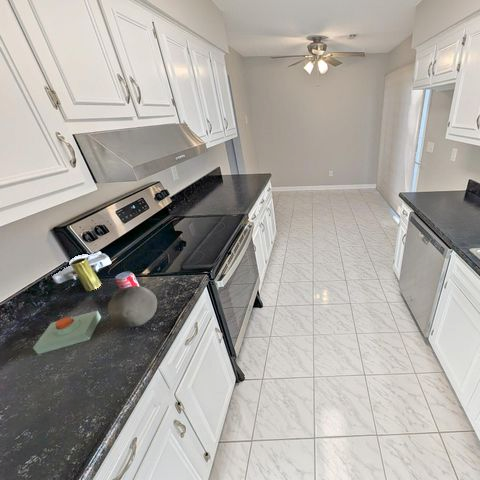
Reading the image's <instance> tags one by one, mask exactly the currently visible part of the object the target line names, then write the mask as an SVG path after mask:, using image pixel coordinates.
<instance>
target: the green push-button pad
mask: <svg viewBox="0 0 480 480" xmlns="http://www.w3.org/2000/svg"><path fill="white" fill-rule="evenodd" d="M69 317H70V318H71V319H72V321H73V322H72V324H70V325H69V326H67V327H65V328H62V329H58V328H57V327H56V325H55V323H56V322H57V321H58V320H56V321H52V322H50V324H49V325H48V327H47V328H46V330H45V331H44V332H43V333H42V334H41V336H40V337H39V339H38V340H37V341H36V343H35V344H34V345H33V347H32V349H33V350H34V351H35V352H36V354H37V355H40V354H44V353H49V352H51V351H55V350H58V349H62V348H65V347H68V346H72V345H76V344H79V343H83V342H86V341H89V340H90V339H91V337H92V336H93V333H94V331H95V330H96V328H97V326H98V324H99V322H100V320H101V318H102V316H101V314H100V313H99V311H98V310H94V311H90V312H87V313H83V314H79V315H76V316H69Z"/></svg>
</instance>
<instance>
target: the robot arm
mask: <svg viewBox="0 0 480 480" xmlns="http://www.w3.org/2000/svg"><path fill="white" fill-rule="evenodd" d="M93 252H94V253H93V254H90V255H88V254H82V255H78V256H75V257H74V258H72V259H71V260H70V261H69V265H70V266H68V267H67V266H65V267H66V268H65V267H63V268H64V269H63V270H62V271H59V272H58V273H56V274H54V275H53V276H52V275H51V278H52V279H53V281H54V282H55V284H62V283H65V282H67V281H69V280H74V281H76V280H80V279H79V277H78V275H77V274H76V272H75V271H74V269H73V267H72V266H71V262H72V261H74V260H77V259H80V258H86V260H87V261H88V263H89V265H90V266H91V268H92V269H93V271H94V273H95V274H96V273H97V272H99V269H102V268H105V267H107V266H111V264H112V260H111V259H110V257H109V255H107V254H106V253H102V252H101V251H100V250H97V251H93Z"/></svg>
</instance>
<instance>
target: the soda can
mask: <svg viewBox="0 0 480 480" xmlns="http://www.w3.org/2000/svg"><path fill="white" fill-rule="evenodd" d="M114 279H115V283H116V285H117V287H118V289H119V291H120V290H122V289H124V288H126V287H131V286H140V284H139V282H138V280H137V278H136V276H135V274H134V273H133V272H131V271H122V272H121V273H119V274H117V275H116V276H115V278H114Z"/></svg>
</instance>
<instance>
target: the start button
mask: <svg viewBox="0 0 480 480" xmlns="http://www.w3.org/2000/svg"><path fill="white" fill-rule="evenodd" d="M70 317H71V316H65V317H63V318H60V319H58V320H56V321H57V322H56V321H55V322H56V323H55V325H56V327H57V328H58V329H62V328H65V327H67V326H69V325H70V324H72V322H73V321H72V319H71V318H70Z"/></svg>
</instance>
